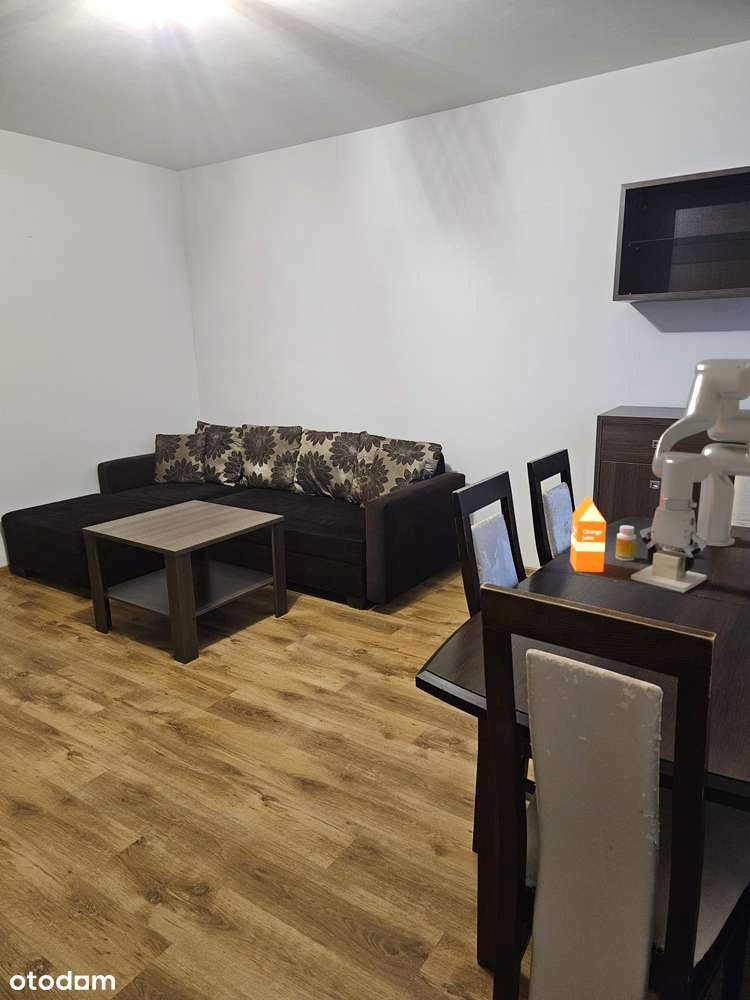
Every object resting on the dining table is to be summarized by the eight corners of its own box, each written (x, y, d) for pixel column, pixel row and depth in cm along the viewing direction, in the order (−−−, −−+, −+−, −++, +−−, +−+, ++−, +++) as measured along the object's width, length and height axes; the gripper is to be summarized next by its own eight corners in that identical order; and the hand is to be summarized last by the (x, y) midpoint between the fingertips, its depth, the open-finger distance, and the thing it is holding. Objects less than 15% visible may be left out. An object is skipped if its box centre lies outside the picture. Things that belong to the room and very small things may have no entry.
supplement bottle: (632, 562, 187) (635, 530, 185) (613, 559, 190) (615, 527, 188) (636, 557, 192) (638, 525, 189) (617, 554, 194) (619, 523, 192)
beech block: (662, 569, 177) (664, 548, 175) (686, 575, 172) (688, 553, 171) (651, 574, 173) (653, 553, 171) (675, 580, 168) (677, 559, 167)
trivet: (654, 567, 182) (655, 563, 182) (706, 579, 172) (706, 575, 172) (631, 579, 173) (631, 575, 173) (683, 592, 163) (684, 588, 163)
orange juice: (596, 562, 188) (601, 495, 183) (603, 572, 179) (608, 502, 175) (569, 561, 189) (573, 495, 184) (574, 571, 180) (578, 502, 176)
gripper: (715, 506, 164) (709, 570, 168) (649, 496, 177) (644, 555, 180) (703, 511, 159) (697, 577, 163) (636, 501, 172) (632, 561, 175)
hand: (669, 565), depth 172 cm, fingers open, 9 cm apart
